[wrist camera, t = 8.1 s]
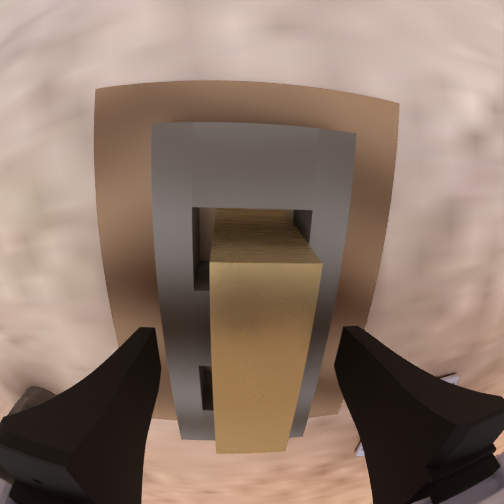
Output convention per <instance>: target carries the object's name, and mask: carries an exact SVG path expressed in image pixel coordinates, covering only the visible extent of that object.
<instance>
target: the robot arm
mask: <svg viewBox="0 0 504 504" xmlns="http://www.w3.org/2000/svg"><path fill="white" fill-rule="evenodd" d="M161 369H162V367H161V362H160V356H159V349H158V343H157V336H156V330H155V328H152V327H139V328H138V329H137V330H136V331H135V332H134V333H133V334H132V335H131V336H130V337H129V338H128V339H127V340H126V341H125V342H124V343H123V344H122V345H121V346H120V347H119V348H118V349H117V350H116V351H115V352H114V353H113V354H112V355H111V356H110V357H109V358H108V359H107V360H106V361H105V362H104V363H102V364H101V365H100V366H99V367H98V368H97V369H96V370H94V371H93V372H92V373H91V374H89V375H88V376H87V377H85V378H84V379H83V380H81V381H80V382H78V383H77V384H76V385H74V386H72V387H71V388H69V389H67V390H66V391H64V392H62V393H61V394H59V395H57V396H55V397H54V398H52V399H50V400H48V401H46V402H44V403H41V404H39V405H37V406H35V407H32V408H30V409H27V410H24V411H21V412H18V413H15V414H12V415H9V416H5V417H3V419H2V420H1V422H0V465H1V466H2V467H3V468H4V469H5V470H6V471H7V472H8V473H9V474H10V475H11V476H12V477H13V478H14V479H15V480H14V483H13V486H11V485H10V484H9V483H7V482H6V481H4V480H2V479H0V504H141V497H142V476H143V463H144V453H145V445H146V439H147V434H148V430H149V426H150V422H151V418H152V414H153V411H154V407H155V403H156V399H157V395H158V391H159V385H160V377H161ZM334 369H335V373H336V377H337V381H338V384H339V387H340V390H341V392H342V395H343V397H344V399H345V402H346V404H347V406H348V409H349V411H350V414H351V416H352V418H353V421H354V423H355V425H356V428H357V430H358V433H359V436H360V440H361V443H360V445H359V446H358V448H357V450H356V452H355V455H356V456H357V457H359V456H364V455H365V459H366V463H367V468H368V472H369V478H370V484H371V489H372V496H373V504H504V452H503V453H502V454H500V455H499V454H498V455H496V456H494V455H493V453H494V452H495V451H496V447H495V446H494V444H493V442H494V441H495V440H496V439H497V438H498V436H499V435H500V434H501V433H502V431H503V430H504V399H503V397H501V396H496V395H490V394H485V393H480V392H476V391H473V390H469V389H466V388H463V387H460V386H457V385H456V384H457V382H458V380H459V376H458V375H457V374H454V375H451V376H447V377H443V378H437V377H435V376H433V375H431V374H429V373H427V372H425V371H424V370H422V369H420V368H418V367H416V366H415V365H413V364H412V363H410V362H408V361H407V360H405V359H404V358H402V357H401V356H399V355H398V354H396V353H395V352H393V351H392V350H391V349H389V348H388V347H386V346H385V345H384V344H382V343H381V342H380V341H378V340H377V339H376V338H374V337H373V336H372V335H370V334H369V333H367V332H366V331H365V330H363V329H362V328H360V327H359V326H343V330H342V334H341V338H340V342H339V346H338V350H337V354H336V358H335V362H334Z"/></svg>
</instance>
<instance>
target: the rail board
mask: <svg viewBox="0 0 504 504" xmlns="http://www.w3.org/2000/svg"><path fill="white" fill-rule="evenodd" d="M398 121H399V103H395V102H391V101H386V100H382V99H378V98H373V97H368V96H363V95H358V94H352V93H347V92H341V91H335V90H328V89H321V88H314V87H306V86H297V85H288V84H277V83H264V82H246V81H173V82H155V83H142V84H132V85H122V86H114V87H106V88H99V89H96V92H95V114H94V165H95V188H96V203H97V215H98V226H99V235H100V244H101V252H102V259H103V266H104V273H105V279H106V285H107V291H108V297H109V302H110V308H111V313H112V318H113V322H114V327H115V332H116V336H117V341H118V345H119V347H120V346H121V345H122V344H123V343H124V342H125V341H126V340H127V339H128V338H129V337H130V336H131V335H132V334H133V333H134V332H135V331H136V330H137V329H138V328H139V327H152V328H155V330H156V336H157V343H158V349H159V356H160V362H161V367H162V369H161V377H160V385H159V391H158V395H157V399H156V403H155V407H154V411H153V414H152V418H155V419H167V420H178V425H179V430H180V434H181V439H188V440H215V424H214V406H213V386H212V361H211V329H210V254H211V246H212V239H213V231H214V224H215V216H216V209H254V210H283V211H285V212H286V214H287V215H288V216H289V218H290V219H291V220H292V222H293V223H294V225H295V226H296V227H297V229H298V230H299V231H300V233H301V234H302V235H303V237H304V238H305V240H306V241H307V242H308V244H309V245H310V247H311V248H312V249H313V251H314V252H315V254H316V255H317V256H318V258H319V259H320V261H321V262H322V263H323V266H322V273H321V279H320V286H319V292H318V298H317V304H316V310H315V316H314V322H313V327H312V333H311V338H310V344H309V349H308V354H307V359H306V364H305V369H304V374H303V378H302V383H301V388H300V392H299V397H298V401H297V406H296V410H295V414H294V419H293V423H292V427H291V431H290V435H289V438H291V437H302V436H303V433H304V430H305V427H306V423H307V420H308V417H317V416H326V415H333V414H338V411H339V408H340V406H341V403H342V400H343V395H342V392H341V390H340V387H339V384H338V381H337V377H336V373H335V369H334V362H335V358H336V354H337V350H338V346H339V342H340V338H341V334H342V330H343V326H359V327H360V328H362V329H363V330H364V329H365V325H366V321H367V318H368V314H369V310H370V306H371V302H372V297H373V293H374V289H375V284H376V280H377V275H378V271H379V266H380V261H381V256H382V251H383V245H384V240H385V234H386V228H387V222H388V216H389V209H390V202H391V195H392V187H393V179H394V170H395V160H396V149H397V137H398Z"/></svg>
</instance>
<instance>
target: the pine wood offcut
mask: <svg viewBox="0 0 504 504" xmlns="http://www.w3.org/2000/svg"><path fill="white" fill-rule="evenodd" d="M322 266H323V263H322V262H321V261H320V259H319V258H318V256H317V255H316V254H315V252H314V251H313V249H312V248H311V247H310V245H309V244H308V242H307V241H306V240H305V238H304V237H303V235H302V234H301V233H300V231H299V230H298V229H297V227H296V226H295V225H294V223H293V222H292V220H291V219H290V218H289V216H288V215H287V214H286V212H285V211H283V210H254V209H216V216H215V224H214V231H213V239H212V246H211V254H210V329H211V361H212V386H213V406H214V424H215V440H216V453H218V454H235V453H265V452H280V451H286V447H287V443H288V439H289V435H290V431H291V427H292V423H293V419H294V414H295V410H296V406H297V401H298V397H299V392H300V388H301V383H302V378H303V374H304V369H305V364H306V359H307V354H308V349H309V344H310V338H311V333H312V327H313V322H314V316H315V310H316V304H317V298H318V292H319V286H320V279H321V273H322Z"/></svg>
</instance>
